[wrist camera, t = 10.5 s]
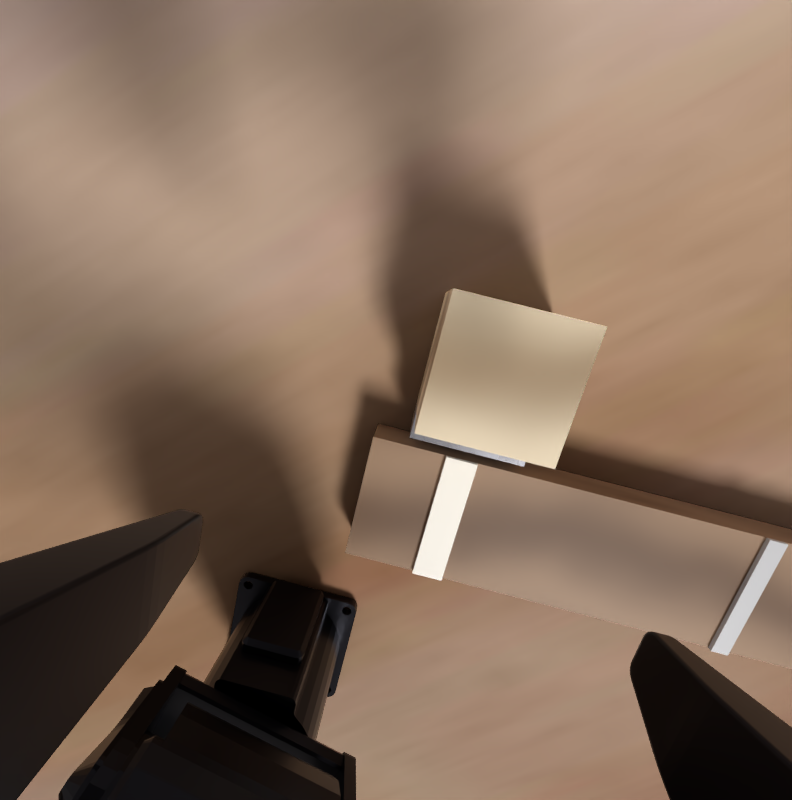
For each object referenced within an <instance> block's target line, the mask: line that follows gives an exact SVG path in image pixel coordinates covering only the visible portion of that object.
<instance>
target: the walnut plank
mask: <svg viewBox="0 0 792 800" xmlns="http://www.w3.org/2000/svg"><path fill="white" fill-rule="evenodd" d="M409 437H410V432H409V431H405V430H401V429H397V428H394V427H390V426H386V425H382V424H378V426H377V429H376V431H375V434H374V436H373V440H372V444H371V448H370V453H369V457H368V461H367V465H366V469H365V473H364V477H363V481H362V485H361V490H360V494H359V498H358V502H357V506H356V510H355V514H354V518H353V523H352V527H351V531H350V535H349V539H348V543H347V547H346V551H345V553H347V554H351V555H355V556H359V557H363V558H366V559H370V560H374V561H378V562H382V563H386V564H389V565H393V566H397V567H401V568H405V569H409V570H412V573H413V574H417V575H421V576H425V577H429V578H433V579H436V580H440V581H441V580H442V578H443V579H447V580H451V581H455V582H459V583H462V584H466V585H470V586H474V587H478V588H482V589H485V590H489V591H493V592H497V593H501V594H505V595H508V596H512V597H516V598H520V599H524V600H528V601H531V602H535V603H539V604H543V605H547V606H551V607H554V608H558V609H562V610H566V611H570V612H574V613H577V614H581V615H585V616H589V617H593V618H597V619H601V620H604V621H608V622H612V623H616V624H620V625H624V626H627V627H631V628H635V629H639V630H643V631H647V632H651V631H653V632H657V633H661V634H665V635H669V636H671V637H673V638H674V639H677V640H681V641H685V642H689V643H693V644H696V645H700V646H704V647H708V648H709V649H710V650H711V651H713V652H717V653H720V654H724V655H728V654H729V653H731V654H735V655H739V656H743V657H746V658H750V659H754V660H758V661H762V662H766V663H769V664H773V665H777V666H781V667H785V668H789V669H792V529H788V528H784V527H780V526H776V525H773V524H769V523H765V522H761V521H757V520H753V519H749V518H745V517H741V516H737V515H733V514H730V513H726V512H722V511H718V510H714V509H710V508H706V507H702V506H698V505H694V504H691V503H687V502H683V501H679V500H675V499H671V498H667V497H663V496H659V495H655V494H651V493H648V492H644V491H640V490H636V489H632V488H628V487H624V486H620V485H616V484H612V483H608V482H605V481H601V480H597V479H593V478H589V477H585V476H581V475H577V474H573V473H569V472H565V471H562V470H558V469H552V468H548V467H544V466H540V465H536V464H532V463H528V462H525V465H524V467H523V466H519V465H515V464H511V463H507V462H503V461H499V460H495V459H492V458H488V457H484V456H480V455H476V454H472V453H468V452H464V451H460V450H456V449H452V448H449V447H445V446H441V445H437V444H433V443H429V442H425V441H421V440H417V439H413V438H409Z"/></svg>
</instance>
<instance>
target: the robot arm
mask: <svg viewBox="0 0 792 800" xmlns="http://www.w3.org/2000/svg"><path fill="white" fill-rule="evenodd" d="M202 524H203V518H202V515H201V514H200V513H196V512H192V511H189V510H185V509H180V510H176V511H173V512H169V513H166V514H163V515H159V516H156V517H153V518H149V519H146V520H143V521H139V522H136V523H133V524H129V525H126V526H123V527H119V528H116V529H112V530H109V531H106V532H102V533H99V534H96V535H92V536H89V537H86V538H82V539H79V540H76V541H72V542H69V543H65V544H62V545H59V546H55V547H52V548H49V549H45V550H42V551H39V552H35V553H32V554H29V555H25V556H22V557H18V558H15V559H12V560H8V561H5V562H2V563H0V800H17V798H18V797H19V796H20V794H21V793H22V792H23V791H24V789H25V788H26V787H27V786H28V784H29V783H30V782H31V781H32V779H33V778H34V777H35V776H36V774H37V773H38V772H39V771H40V769H41V768H42V767H43V765H44V764H45V763H46V762H47V760H48V759H49V758H50V757H51V755H52V754H53V753H54V752H55V750H56V749H57V748H58V747H59V745H60V744H61V743H62V741H63V740H64V739H65V738H66V736H67V735H68V734H69V733H70V731H71V730H72V729H73V728H74V726H75V725H76V724H77V723H78V721H79V720H80V719H81V718H82V716H83V715H84V714H85V712H86V711H87V710H88V709H89V707H90V706H91V705H92V704H93V702H94V701H95V700H96V699H97V697H98V696H99V695H100V694H101V692H102V691H103V690H104V688H105V687H106V686H107V685H108V683H109V682H110V681H111V680H112V678H113V677H114V676H115V675H116V673H117V672H118V671H119V670H120V668H121V667H122V666H123V665H124V663H125V662H126V661H127V659H128V658H129V657H130V656H131V654H132V653H133V652H134V651H135V649H136V648H137V647H138V646H139V644H140V643H141V642H142V640H143V639H144V638H145V636H146V635H147V634H148V632H149V631H150V629H151V628H152V626H153V625H154V623H155V622H156V620H157V619H158V617H159V616H160V614H161V613H162V611H163V609H164V608H165V606H166V605H167V603H168V602H169V600H170V599H171V597H172V596H173V594H174V592H175V591H176V589H177V588H178V586H179V585H180V583H181V582H182V580H183V579H184V577H185V575H186V574H187V572H188V571H189V569H190V568H191V566H192V565H193V563H194V561H195V559H196V557H197V554H198V551H199V545H200V538H201V531H202ZM247 581H249V582H251V583H252V584H249V583H248V582H247ZM344 607H348V608H350V610H347V609H345V608H344ZM356 610H357V604H356V602H355V601H354V600H353V599H351V598H347V597H343V596H340V595H336V594H332V593H328V592H324V591H321V590H317V589H313V588H309V587H305V586H301V585H298V584H294V583H290V582H286V581H282V580H279V579H275V578H271V577H267V576H263V575H259V574H256V573H250V572H249V573H246V574H245V575H244V576H243V577H242V579H241V580H240V582H239V588H238V593H237V599H236V605H235V611H234V616H233V622H232V628H231V634H230V638H229V640H228V642H227V643H226V645H225V647H224V648H223V650H222V652H221V654H220V655H219V657H218V659H217V660H216V662H215V664H214V666H213V667H212V669H211V671H210V672H209V674H208V676H207V677H206V679H205V681H204V683H203V682H202V681H200V680H198V679H196V678H194V677H192V676H190V675H188V674H186V672H187V671H186V670H184V669H182V668H180V667H178V666H177V665H176V666H175V667H174V668H173V669H172V671H171V672H170V673H169V675H168V676H167V677H166V679H165V680H164V681H162V680H159V681H158V682H157V684H156V685H155V686H154V687H148V688H144V689H143V691H142V692H141V693H140V695H139V696H138V698H137V699H136V700H135V702H134V703H133V704H132V706H131V707H130V708H129V710H128V711H127V713H126V714H125V715H124V717H123V718H122V719H121V721H120V722H119V723H118V724H117V726H116V727H115V728H114V729H113V730H112V731H111V733H110V734H109V735H108V736H107V737H106V738H105V739H104V740H103V741H102V742H101V743H100V744H99V745H98V747H97V748H96V749H95V750H94V751H93V752H92V753H91V754H90V755H89V756H88V757H87V758H86V759H85V760H84V762H83V763H82V764H81V765H80V766H79V767H78V768H77V769H76V770H75V771H74V772H73V774H72V775H71V776H70V778H69V779H68V780H67V782H66V783H65V785H64V786H63V788H62V789H61V791H60V793H59V800H356V759H355V757H353V756H351V755H349V754H347V753H345V752H344V753H343V754H341V753H339V752H337V751H335V750H333V749H332V748H330V747H328V746H326V745H324V744H322V743H320V742H318V741H316V738H317V734H318V730H319V726H320V722H321V718H322V714H323V710H324V706H325V702H326V698H327V697H329V696H332V695H334V693H335V691H336V687H337V683H338V679H339V675H340V672H341V668H342V664H343V660H344V656H345V652H346V649H347V645H348V641H349V637H350V633H351V630H352V626H353V622H354V618H355V614H356ZM630 675H631V680H632V683H633V687H634V690H635V693H636V697H637V700H638V703H639V707H640V710H641V714H642V717H643V720H644V724H645V727H646V730H647V734H648V737H649V740H650V744H651V747H652V750H653V754H654V757H655V760H656V763H657V766H658V769H659V772H660V775H661V778H662V780H663V783H664V786H665V788H666V791H667V794H668V796H669V799H670V800H792V727H790V726H789V725H788V724H786V723H785V722H784V721H782V720H781V719H780V718H779V717H777V716H776V715H775V714H773V713H772V712H771V711H769V710H768V709H767V708H765V707H764V706H763V705H761V704H760V703H759V702H757V701H756V700H755V699H754V698H752V697H751V696H750V695H748V694H747V693H746V692H744V691H743V690H742V689H740V688H739V687H738V686H736V685H735V684H734V683H732V682H731V681H730V680H729V679H727V678H726V677H725V676H723V675H722V674H721V673H719V672H718V671H717V670H715V669H714V668H713V667H711V666H710V665H709V664H707V663H706V662H705V661H704V660H702V659H701V658H700V657H698V656H697V655H696V654H694V653H693V652H692V651H690V650H689V649H688V648H686V647H685V646H684V645H682V644H681V643H680V642H679V641H677V640H676V639H674V638H673V637H671V636H669V635H665V634H661V633H657V632H653V631H651V632H647V633H646V634H645V635H644V637H643V639H642V641H641V643H640V645H639V647H638V649H637V651H636V653H635V655H634V658H633V660H632V662H631V666H630Z"/></svg>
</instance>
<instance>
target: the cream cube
mask: <svg viewBox="0 0 792 800" xmlns="http://www.w3.org/2000/svg"><path fill="white" fill-rule="evenodd" d="M606 329H607V326H603V325H599V324H595V323H591V322H587V321H583V320H579V319H575V318H571V317H567V316H563V315H559V314H555V313H551V312H547V311H543V310H539V309H535V308H531V307H527V306H523V305H519V304H515V303H511V302H507V301H503V300H499V299H495V298H491V297H487V296H483V295H479V294H475V293H471V292H467V291H463V290H459V289H455V288H453V289H451V290H449V291H447V292H446V293H445V296H444V300H443V304H442V308H441V312H440V315H439V319H438V323H437V327H436V330H435V334H434V338H433V342H432V346H431V349H430V353H429V357H428V361H427V365H426V368H425V372H424V376H423V380H422V383H421V387H420V391H419V395H418V399H417V402H416V406H415V410H414V414H413V418H412V422H411V429H410V437H409V438H413V439H417V440H421V441H425V442H429V443H433V444H437V445H441V446H445V447H449V448H452V449H456V450H460V451H464V452H468V453H472V454H476V455H480V456H484V457H488V458H492V459H495V460H499V461H503V462H507V463H511V464H515V465H519V466H523V467H524V465H525V462H528V463H532V464H536V465H540V466H544V467H548V468H552V469H555V468H556V465H557V462H558V460H559V457H560V454H561V451H562V449H563V446H564V443H565V441H566V438H567V435H568V432H569V430H570V427H571V424H572V421H573V419H574V416H575V413H576V411H577V408H578V405H579V402H580V400H581V397H582V394H583V391H584V389H585V386H586V383H587V381H588V378H589V375H590V372H591V370H592V367H593V364H594V362H595V359H596V356H597V353H598V351H599V348H600V345H601V342H602V340H603V337H604V334H605V332H606Z"/></svg>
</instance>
